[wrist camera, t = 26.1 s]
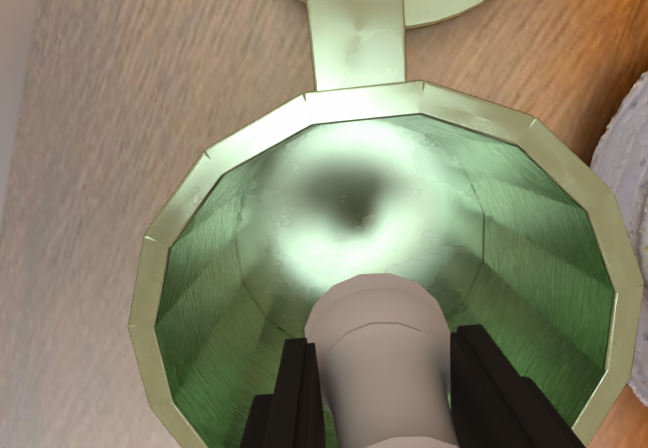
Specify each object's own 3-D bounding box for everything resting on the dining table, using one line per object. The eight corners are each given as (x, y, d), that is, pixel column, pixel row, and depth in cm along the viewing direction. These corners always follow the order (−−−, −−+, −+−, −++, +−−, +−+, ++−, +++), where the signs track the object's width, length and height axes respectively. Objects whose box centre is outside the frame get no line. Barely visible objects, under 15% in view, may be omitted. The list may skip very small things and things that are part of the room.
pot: (253, 406, 23) (200, 597, 14) (191, 61, 18) (36, -6, 8) (490, 390, 22) (602, 579, 13) (500, 26, 17) (701, -88, 8)
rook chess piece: (469, 343, 12) (722, 749, 4) (356, 409, 13) (397, 855, 5) (393, 238, 11) (538, 508, 3) (277, 316, 12) (174, 685, 4)
